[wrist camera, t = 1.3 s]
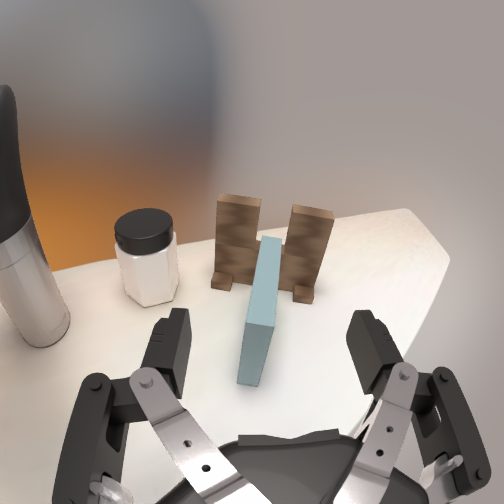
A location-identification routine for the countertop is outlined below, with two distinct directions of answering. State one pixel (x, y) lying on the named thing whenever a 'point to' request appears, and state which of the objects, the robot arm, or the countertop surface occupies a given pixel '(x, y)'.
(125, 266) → the jar
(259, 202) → the brown wooden u-shaped piece
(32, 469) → the countertop surface
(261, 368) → the teal rectangular panel
